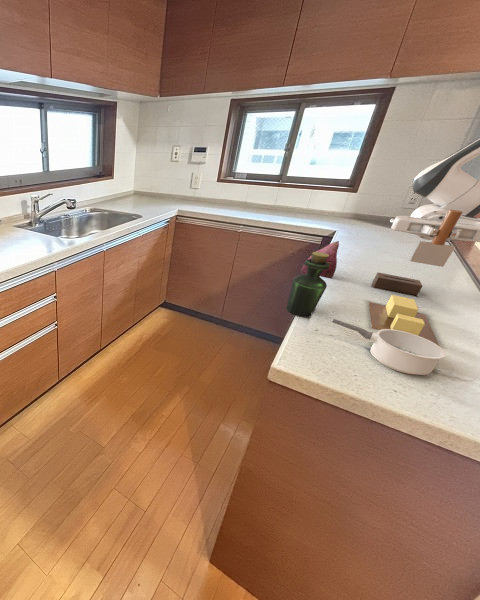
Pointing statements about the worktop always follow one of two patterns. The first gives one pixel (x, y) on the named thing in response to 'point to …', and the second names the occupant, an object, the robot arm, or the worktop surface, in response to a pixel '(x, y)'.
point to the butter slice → (407, 324)
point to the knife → (438, 243)
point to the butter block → (401, 306)
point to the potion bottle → (308, 287)
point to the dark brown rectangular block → (397, 284)
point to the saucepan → (398, 358)
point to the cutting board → (384, 322)
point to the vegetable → (327, 260)
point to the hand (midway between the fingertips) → (444, 233)
